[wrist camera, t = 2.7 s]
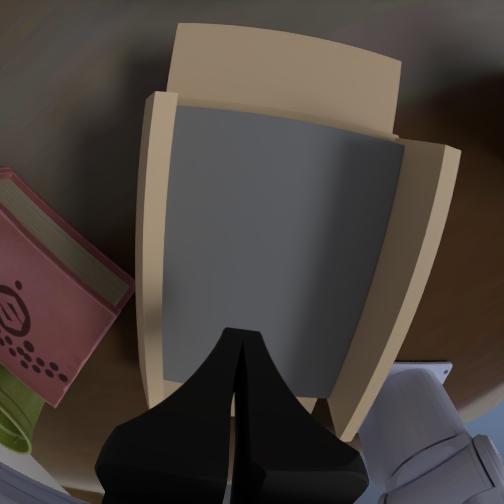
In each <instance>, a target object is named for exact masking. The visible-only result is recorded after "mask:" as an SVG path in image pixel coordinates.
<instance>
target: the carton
mask: <svg viewBox="0 0 504 504" xmlns="http://www.w3.org/2000/svg"><path fill="white" fill-rule="evenodd" d="M401 63H402V62H401V61H398V60H396V59H393V58H390V57H387V56H383V55H380V54H377V53H374V52H370V51H367V50H364V49H360V48H356V47H353V46H349V45H345V44H341V43H337V42H333V41H328V40H324V39H319V38H315V37H310V36H305V35H299V34H294V33H288V32H282V31H275V30H268V29H261V28H252V27H243V26H232V25H219V24H198V23H178V27H177V32H176V37H175V43H174V48H173V54H172V59H171V65H170V71H169V78H168V84H167V91H166V92H172V93H178V99H177V106H176V113H175V121H174V129H173V138H172V146H171V156H170V166H169V177H168V188H167V201H166V215H165V232H164V253H163V283H162V357H163V387H164V399H166V398H167V397H168V396H170V395H171V394H172V393H173V392H175V391H176V390H177V389H178V388H179V387H180V386H182V385H183V384H184V383H185V382H186V381H187V380H188V379H189V378H190V377H191V376H192V375H193V374H194V373H195V371H196V370H197V369H198V368H199V367H200V366H201V364H202V363H203V362H204V361H205V359H206V358H207V357H208V355H209V354H210V353H211V351H212V350H213V348H214V347H215V345H216V344H217V342H218V340H219V338H220V336H221V334H222V332H223V329H224V328H226V327H230V328H237V329H245V330H253V331H260V333H261V334H262V336H263V339H264V342H265V345H266V347H267V349H268V352H269V354H270V356H271V358H272V360H273V362H274V364H275V366H276V368H277V369H278V371H279V373H280V375H281V376H282V378H283V379H284V381H285V383H286V384H287V386H288V387H289V389H290V390H291V391H292V393H293V394H294V395H295V397H296V398H297V399H298V400H299V402H300V403H301V404H302V405H303V406H304V408H305V409H306V410H307V411H308V412H309V413H310V414H311V413H312V410H313V408H314V406H315V403H316V401H317V398H329V396H330V394H331V391H332V389H333V387H334V384H335V382H336V379H337V377H338V374H339V372H340V369H341V367H342V364H343V362H344V359H345V356H346V354H347V351H348V349H349V346H350V343H351V340H352V338H353V335H354V332H355V329H356V327H357V324H358V321H359V318H360V315H361V312H362V309H363V306H364V303H365V300H366V297H367V294H368V291H369V287H370V284H371V281H372V278H373V274H374V271H375V268H376V264H377V261H378V257H379V254H380V250H381V246H382V243H383V239H384V235H385V231H386V228H387V224H388V220H389V216H390V212H391V207H392V203H393V199H394V194H395V190H396V185H397V181H398V176H399V171H400V166H401V161H402V156H403V150H404V145H401V144H398V143H395V138H399V136H398V135H394V134H392V131H393V125H394V118H395V112H396V105H397V97H398V90H399V82H400V73H401ZM231 416H235V410H234V396H233V400H232V405H231Z"/></svg>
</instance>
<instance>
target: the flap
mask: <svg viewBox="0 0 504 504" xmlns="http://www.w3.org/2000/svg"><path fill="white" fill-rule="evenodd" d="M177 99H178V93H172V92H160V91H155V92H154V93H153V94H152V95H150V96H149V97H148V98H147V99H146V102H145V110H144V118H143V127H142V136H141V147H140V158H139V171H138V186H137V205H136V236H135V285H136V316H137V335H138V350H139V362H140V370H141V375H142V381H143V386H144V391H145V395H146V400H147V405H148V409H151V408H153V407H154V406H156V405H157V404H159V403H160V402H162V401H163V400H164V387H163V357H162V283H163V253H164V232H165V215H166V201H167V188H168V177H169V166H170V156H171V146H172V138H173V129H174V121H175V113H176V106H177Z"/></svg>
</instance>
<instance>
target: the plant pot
mask: <svg viewBox="0 0 504 504" xmlns="http://www.w3.org/2000/svg"><path fill="white" fill-rule="evenodd" d="M44 403H45V400H44V399H42V398H41V397H40V396H39V395H37V394H36V393H35V392H34V391H32V390H31V389H30V388H29V387H27V386H26V385H25V384H24V383H23V382H21V381H20V380H19V379H18V378H17V377H16V376H14V375H13V374H12V373H11V372H10V371H9V370H8V369H7V368H6V367H4V366H3V365H2V364H1V363H0V444H1V445H2V446H4V447H5V448H7V449H9V450H11V451H13V452H16V453H18V454H22V455H28V454H30V453H31V451H32V444H31V441H32V438H33V430H34V427H35V425H36V422H37V420H38V417H39V415H40V412H41V410H42V408H43V405H44Z"/></svg>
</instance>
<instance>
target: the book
mask: <svg viewBox="0 0 504 504" xmlns="http://www.w3.org/2000/svg"><path fill="white" fill-rule="evenodd" d="M135 290H136V285H135V279H134V278H133V277H132V276H131V275H129V274H128V273H127V272H126V271H124V270H123V269H122V268H121V267H119V266H118V265H117V264H116V263H115V262H113V261H112V260H111V259H110V258H108V257H107V256H106V255H105V254H104V253H102V252H101V251H100V250H99V249H98V248H97V247H95V246H94V245H93V244H92V243H91V242H90V241H88V240H87V239H86V238H85V237H84V236H83V235H81V234H80V233H79V232H78V231H77V230H76V229H75V228H74V227H72V226H71V225H70V224H69V223H68V222H67V221H66V220H65V219H63V218H62V217H61V216H60V215H59V214H58V213H57V212H56V211H55V210H54V209H53V208H51V207H50V206H49V205H48V204H47V203H46V202H45V201H44V200H43V199H42V198H41V197H40V196H39V195H38V194H37V193H36V192H35V191H34V190H32V189H31V188H30V187H29V186H28V185H27V184H26V183H25V182H24V181H23V180H22V179H21V178H20V177H19V176H18V175H17V174H16V173H15V172H14V171H13V170H12V169H11V168H0V363H1V364H2V365H3V366H4V367H6V368H7V369H8V370H9V371H10V372H11V373H12V374H13V375H14V376H16V377H17V378H18V379H19V380H20V381H21V382H23V383H24V384H25V385H26V386H27V387H29V388H30V389H31V390H32V391H34V392H35V393H36V394H37V395H39V396H40V397H41V398H42V399H44V400H45V401H46V402H48V403H49V404H50V405H52V406H53V407H54V408H56V407H57V405H58V404H59V402H60V401H61V399H62V398H63V396H64V394H65V393H66V391H67V390H68V388H69V387H70V385H71V384H72V382H73V381H74V379H75V378H76V376H77V375H78V373H79V372H80V370H81V369H82V367H83V366H84V364H85V363H86V361H87V360H88V358H89V357H90V355H91V354H92V352H93V351H94V350H95V348H96V347H97V345H98V344H99V342H100V341H101V339H102V338H103V337H104V335H105V334H106V332H107V331H108V330H109V328H110V327H111V325H112V324H113V323H114V321H115V320H116V318H117V317H118V315H119V314H120V313H121V309H122V308H123V307H124V305H125V304H126V303H127V301H128V300H129V299H130V297H131V296H132V294H133V293H134V292H135Z"/></svg>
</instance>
